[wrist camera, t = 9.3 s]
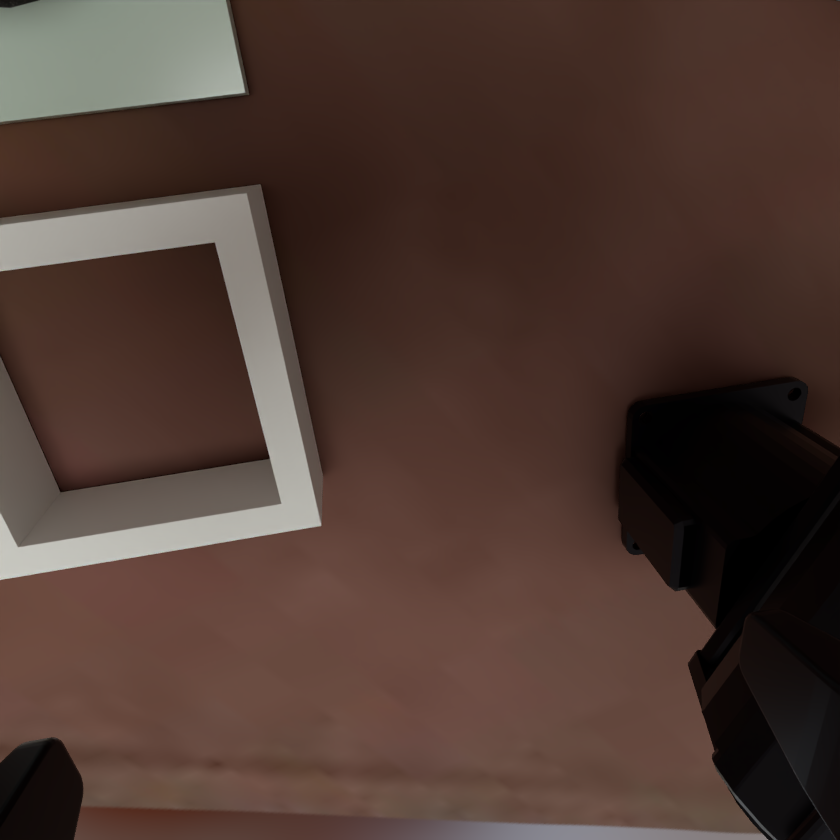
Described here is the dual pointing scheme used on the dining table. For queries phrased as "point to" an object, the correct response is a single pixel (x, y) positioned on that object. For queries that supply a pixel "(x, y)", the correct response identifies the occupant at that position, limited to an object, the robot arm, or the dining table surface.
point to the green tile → (115, 56)
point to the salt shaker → (14, 3)
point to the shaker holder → (184, 492)
